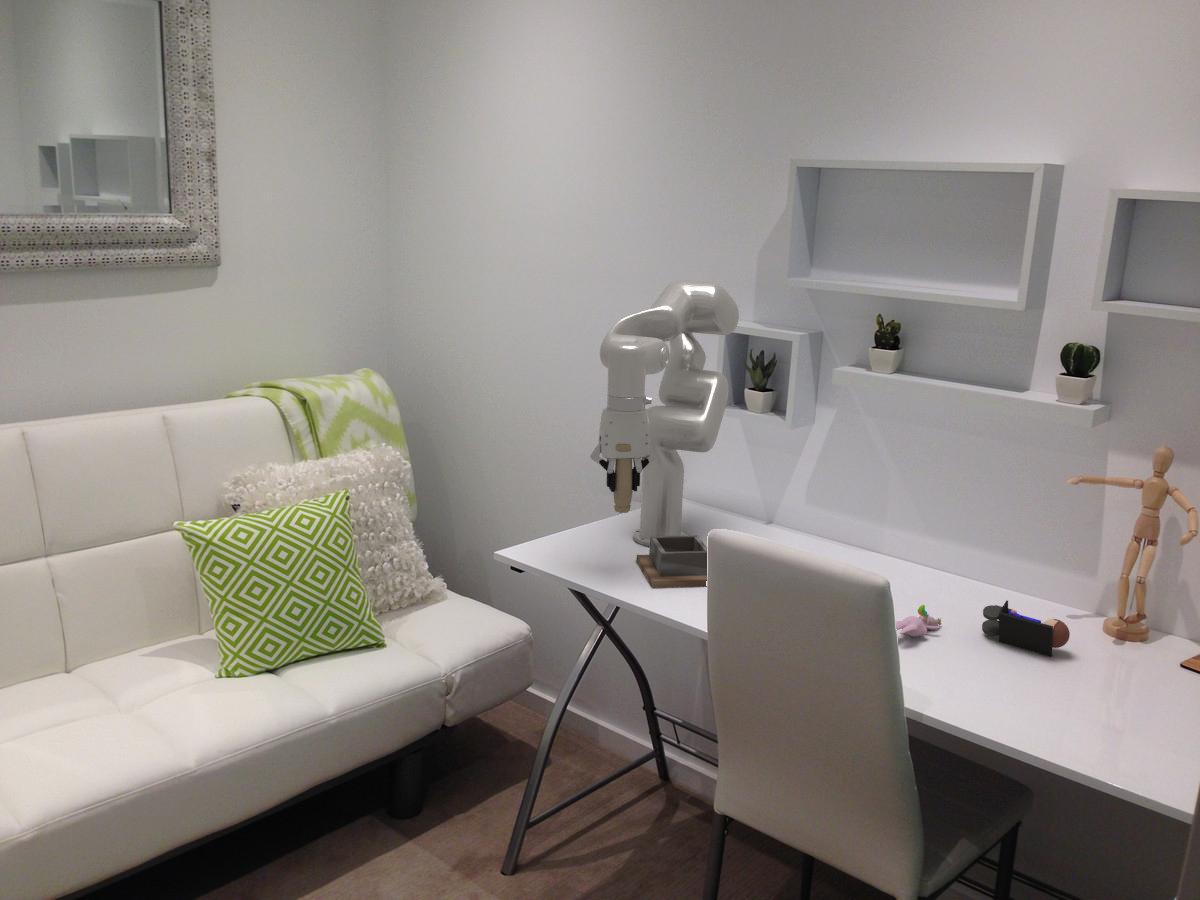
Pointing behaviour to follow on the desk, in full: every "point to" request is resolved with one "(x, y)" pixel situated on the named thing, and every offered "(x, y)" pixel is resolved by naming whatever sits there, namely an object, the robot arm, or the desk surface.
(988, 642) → the desk surface
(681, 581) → the stand
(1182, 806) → the desk surface
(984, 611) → the character figurine
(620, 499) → the handle
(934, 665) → the desk surface
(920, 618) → the pink unicorn toy
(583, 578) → the desk surface
